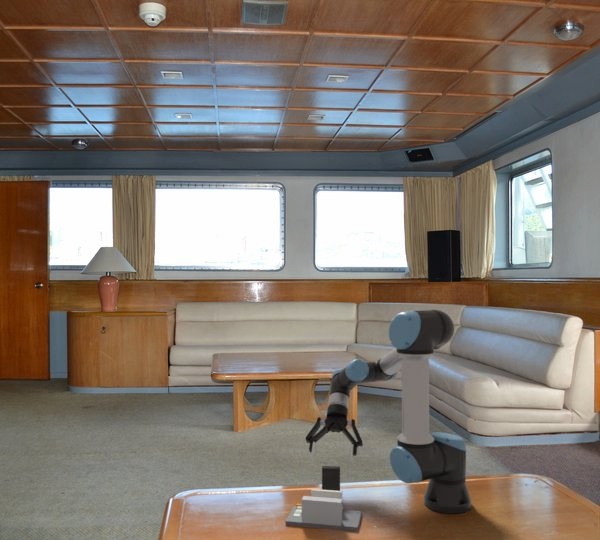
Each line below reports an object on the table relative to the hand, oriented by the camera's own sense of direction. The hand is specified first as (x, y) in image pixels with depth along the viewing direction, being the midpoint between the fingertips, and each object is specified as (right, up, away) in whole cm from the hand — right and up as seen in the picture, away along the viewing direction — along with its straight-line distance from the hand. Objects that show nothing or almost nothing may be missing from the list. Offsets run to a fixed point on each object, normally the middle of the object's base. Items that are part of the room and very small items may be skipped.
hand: (331, 462), depth 209 cm
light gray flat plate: (-5, -10, -15) cm, 19 cm away
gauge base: (-3, -12, -20) cm, 24 cm away
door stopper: (-1, -12, -7) cm, 13 cm away
